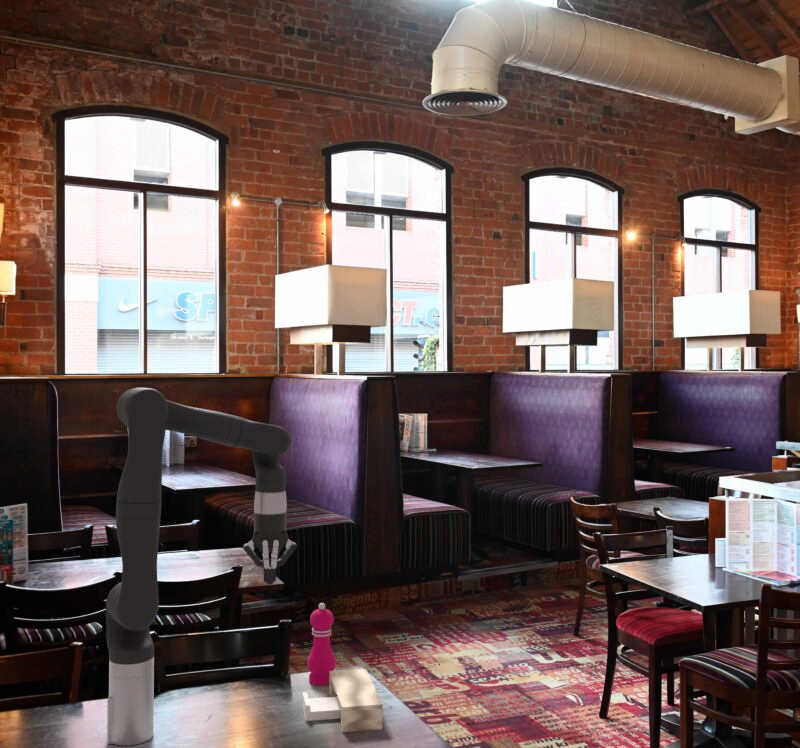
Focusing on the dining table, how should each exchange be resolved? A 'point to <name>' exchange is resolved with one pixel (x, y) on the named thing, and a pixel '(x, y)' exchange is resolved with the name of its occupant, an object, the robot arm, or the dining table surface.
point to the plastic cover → (321, 708)
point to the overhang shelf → (356, 700)
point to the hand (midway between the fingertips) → (269, 583)
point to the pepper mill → (321, 647)
